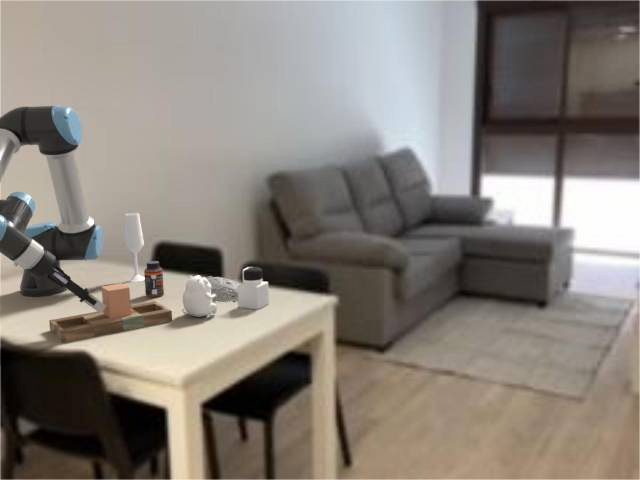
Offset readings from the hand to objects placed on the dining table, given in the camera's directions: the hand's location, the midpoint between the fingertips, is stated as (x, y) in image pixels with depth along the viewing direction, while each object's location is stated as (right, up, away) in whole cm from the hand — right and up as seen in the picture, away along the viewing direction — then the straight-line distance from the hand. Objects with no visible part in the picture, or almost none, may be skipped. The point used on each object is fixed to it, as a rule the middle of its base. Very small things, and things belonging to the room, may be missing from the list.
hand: (102, 309), depth 195 cm
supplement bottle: (+7, +1, +34) cm, 35 cm away
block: (+3, -2, +3) cm, 5 cm away
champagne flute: (-5, +5, +56) cm, 56 cm away
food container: (+28, +1, +35) cm, 45 cm away
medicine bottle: (+41, -1, +20) cm, 45 cm away
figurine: (+25, -3, +11) cm, 28 cm away
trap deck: (+2, -5, +3) cm, 6 cm away
